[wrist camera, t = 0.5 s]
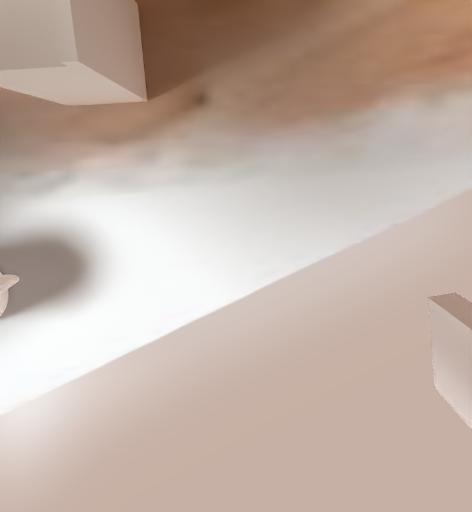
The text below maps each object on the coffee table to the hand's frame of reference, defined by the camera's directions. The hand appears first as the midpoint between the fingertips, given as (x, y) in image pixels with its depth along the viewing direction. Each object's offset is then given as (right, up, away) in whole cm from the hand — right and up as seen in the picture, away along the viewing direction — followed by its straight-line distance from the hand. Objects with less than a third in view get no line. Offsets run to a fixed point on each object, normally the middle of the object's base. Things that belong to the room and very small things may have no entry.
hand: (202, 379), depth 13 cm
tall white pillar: (-12, +23, +33) cm, 42 cm away
